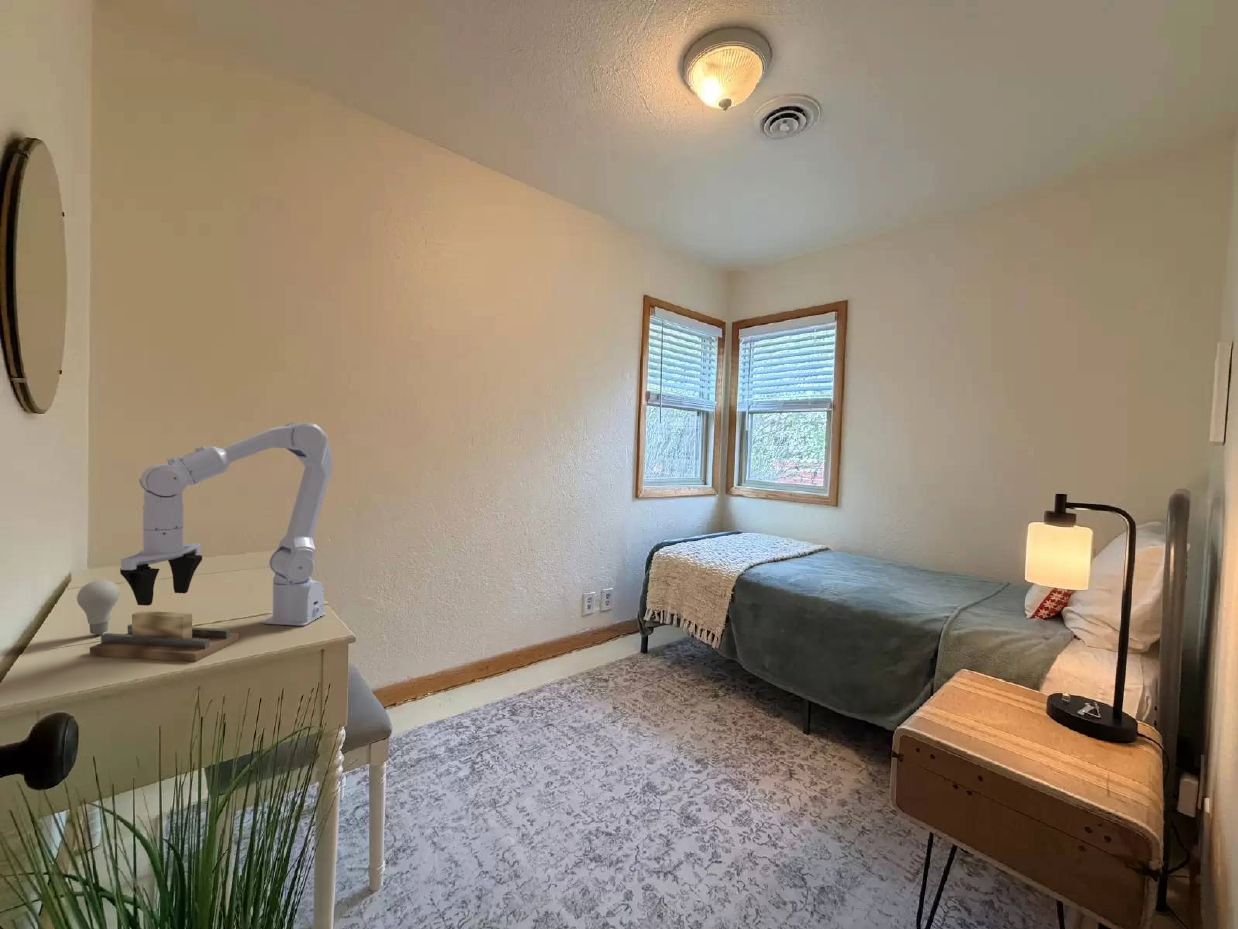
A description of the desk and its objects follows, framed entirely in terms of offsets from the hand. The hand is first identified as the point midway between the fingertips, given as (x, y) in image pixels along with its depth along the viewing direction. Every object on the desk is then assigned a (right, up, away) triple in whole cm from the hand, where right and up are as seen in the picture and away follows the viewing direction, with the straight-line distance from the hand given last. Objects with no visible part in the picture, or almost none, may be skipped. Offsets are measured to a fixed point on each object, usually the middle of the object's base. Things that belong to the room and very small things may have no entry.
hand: (163, 598), depth 99 cm
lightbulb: (-17, -9, +5) cm, 20 cm away
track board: (+1, -9, 0) cm, 9 cm away
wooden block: (0, -8, 0) cm, 8 cm away
